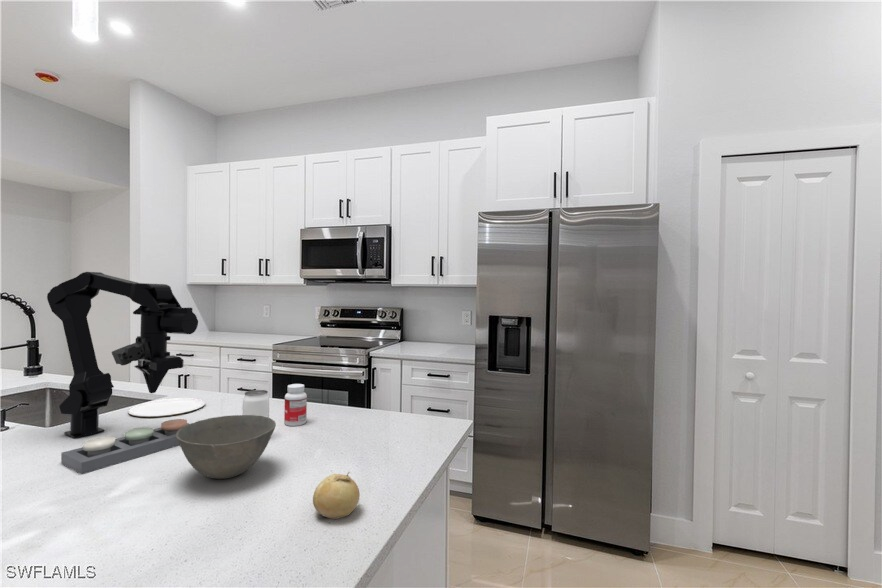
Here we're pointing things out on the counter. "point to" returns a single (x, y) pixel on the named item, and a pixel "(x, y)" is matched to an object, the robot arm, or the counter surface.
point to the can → (256, 403)
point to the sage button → (138, 435)
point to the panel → (117, 452)
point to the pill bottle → (295, 405)
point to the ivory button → (98, 445)
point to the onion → (336, 496)
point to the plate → (166, 407)
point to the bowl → (225, 443)
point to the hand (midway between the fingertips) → (152, 392)
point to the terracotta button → (173, 426)
